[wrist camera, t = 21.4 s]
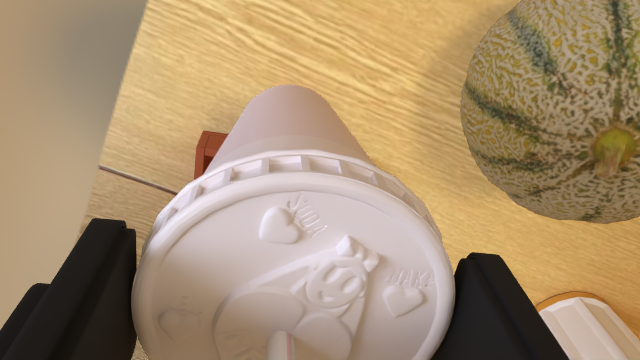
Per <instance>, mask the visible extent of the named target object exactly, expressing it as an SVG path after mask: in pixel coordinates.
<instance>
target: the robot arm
mask: <svg viewBox="0 0 640 360" xmlns="http://www.w3.org/2000/svg"><path fill="white" fill-rule="evenodd" d="M136 271H137V268H136V231H135V229H128V228H127V227H126V223H125V221H122V220H111V219H100V218H94V219H92V220H91V222H90V223H89V225H88V226H87V228H86V229H85V231H84V232H83V234H82V236H81V237H80V239H79V240H78V242H77V243H76V245H75V246H74V248H73V250H72V251H71V253H70V254H69V256H68V257H67V259H66V261H65V262H64V264H63V265H62V267H61V268H60V270H59V271H58V273H57V275H56V276H55V278H54V279H53V281H52V282H51V284H43V283H37V284H35V285H33V286H32V287H31V288H30V289H29V290H28V291H27V293H26V294H25V295H24V297H23V298H22V300H21V301H20V303H19V304H18V305H17V307H16V309H15V310H14V311H13V313H12V314H11V316H10V317H9V319H8V320H7V321H6V323H5V324H4V326H3V327H2V329H1V330H0V360H131V358H132V355H133V352H134V349H135V345H136V340H137V333H136V330H135V327H134V322H133V318H132V308H131V298H132V287H133V282H134V277H135V274H136ZM454 281H455V304H454V309H453V315H452V318H451V321H450V325H449V328H448V330H447V332H446V334H445V337H444V339H443V341H442V342H441V344H440V346H439V348H438V349H437V351H436V352H435V353H434V355H433V356H432V358H431V359H430V360H570V359H569V358H568V356H567V355H566V353H565V352H564V350H563V349H562V347H561V346H560V344H559V343H558V341H557V340H556V338H555V337H554V335H553V334H552V332H551V331H550V329H549V328H548V326H547V325H546V323H545V322H544V320H543V319H542V317H541V316H540V314H539V313H538V311H537V310H536V308H535V307H534V305H533V304H532V302H531V301H530V299H529V298H528V296H527V295H526V293H525V292H524V290H523V289H522V287H521V286H520V284H519V283H518V281H517V280H516V278H515V277H514V275H513V274H512V272H511V271H510V270H509V268H508V267H507V265H506V264H505V262H504V261H503V259H502V258H501V257H500V256H499V255H496V254H485V253H474V252H473V253H470V254H469V255H468V256H467V258H463V259H461V260H460V261H459V263H458V266H457V269H456V272H455V274H454Z"/></svg>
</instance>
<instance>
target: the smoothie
mask: <svg viewBox="0 0 640 360" xmlns="http://www.w3.org/2000/svg"><path fill="white" fill-rule="evenodd" d="M454 304H455V281H454V275H453V270H452V266H451V263H450V260H449V257H448V254H447V252H446V250H445V248H444V246H443V242H442V236H441V233H440V231H439V229H438V227H437V225H436V224H435V222H434V220H433V218H432V217H431V215H430V213H429V211H428V209H427V208H426V206H425V204H424V203H423V202H422V201H421V200H420V199H419V198H418V197H417V196H416V195H415V194H414V193H413V192H412V191H410V190H409V189H408V188H407V187H406V186H405V185H404V184H403V183H402V182H401V181H400V180H399V179H398V178H396V177H395V176H393V175H391V174H389V173H387V172H385V171H383V170H381V169H379V168H377V167H376V166H375V164H374V163H373V162H372V160H371V159H370V158H369V156H368V155H367V154H366V152H365V151H364V150H363V148H362V147H361V146H360V144H359V143H358V142H357V140H356V139H355V138H354V136H353V135H352V134H351V132H350V131H349V130H348V128H347V127H346V126H345V124H344V123H343V122H342V120H341V119H340V118H339V116H338V115H337V114H336V112H335V111H334V110H333V108H332V107H331V106H330V104H329V103H328V102H327V101H326V100H325V99H324V98H323V97H322V96H321V95H319V94H318V93H316V92H315V91H313V90H311V89H309V88H306V87H303V86H298V85H279V86H274V87H271V88H269V89H266V90H264V91H262V92H261V93H259V94H258V95H257V96H255V97H254V98H253V99H252V100H251V101H250V102H249V103H248V105H247V106H246V108H245V109H244V111H243V112H242V114H241V116H240V117H239V119H238V120H237V122H236V124H235V125H234V127H233V128H232V130H231V131H230V133H229V135H228V136H227V138H226V139H225V141H224V142H223V144H222V146H221V147H220V149H219V150H218V152H217V154H216V155H215V157H214V158H213V160H212V161H211V163H210V165H209V166H208V168H207V169H206V171H205V173H204V174H203V175H202V176H201V177H199V178H197V179H195V180H194V181H192V182H190V183H188V184H187V185H186V186H185V187H184V188H183V189H182V190H181V191H180V192H179V193H178V194H177V195H176V196H175V197H174V198H173V199H172V200H171V201H170V203H169V204H168V205H167V206H166V207H165V208H164V209H163V210H162V211H161V212H160V213H159V214H158V216H157V218H156V220H155V222H154V225H153V227H152V229H151V231H150V233H149V235H148V237H147V239H146V241H145V243H144V245H143V248H142V256H141V260H140V263H139V265H138V268H137V271H136V274H135V277H134V282H133V287H132V298H131V308H132V318H133V322H134V327H135V330H136V333H137V336H138V339H139V341H140V343H141V345H142V347H143V349H144V351H145V353H146V355H147V356H148V358H149V359H150V360H430V359H431V358H432V356H433V355H434V353H435V352H436V351H437V349H438V348H439V346H440V344H441V342H442V341H443V339H444V337H445V334H446V332H447V330H448V328H449V325H450V321H451V318H452V315H453V309H454Z"/></svg>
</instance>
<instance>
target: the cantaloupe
mask: <svg viewBox="0 0 640 360" xmlns="http://www.w3.org/2000/svg"><path fill="white" fill-rule="evenodd" d="M460 113H461V122H462V127H463V131H464V134H465V136H466V138H467V141H468V144H469V149H470V151H471V154H472V156H473V157H474V159H475V161H476V163H477V165H478V166H479V167H480V169H481V171H482V173H483V174H484V175H485V176H486V177H487V178H488V180H489V181H491V183H492V184H494V185H496V186H497V187H499V188H500V189H501V190H503V191H505V192H506V193H507V195H508V196H509V197H510V198H511V199H512V200H513V201H514V202H515V203H516V204H518V205H520V206H522V207H524V208H526V209H528V210H530V211H532V212H534V213H535V214H539V215H542V216H546V217H549V218H553V219H557V220H579V221H587V222H592V223H602V224H608V223H613V222H618V221H627V220H630V219H633V218H636V217H639V216H640V0H522V1H520V2H519V3H518V4H517V5H516V6H515V7H514V8H513V9H512V10H510V11H509V12H508V13H507V14H506V15H504V16H503V17H502V18H500V19H499V20H498V21H497V22H496V23H495V24H494V25H493V26H492V27H491V28H490V30H489V31H488V33H487V34H486V35H485V36H484V37H483V39H482V40H481V41H480V44H479V45H478V47H477V48H475V53H474V55H473V57H472V59H471V62H470V65H469V68H468V73H467V78H466V81H465V83H464V86H463V90H462V99H461V109H460Z"/></svg>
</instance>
